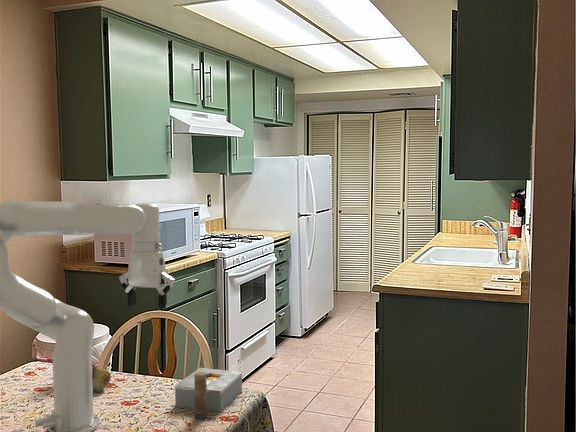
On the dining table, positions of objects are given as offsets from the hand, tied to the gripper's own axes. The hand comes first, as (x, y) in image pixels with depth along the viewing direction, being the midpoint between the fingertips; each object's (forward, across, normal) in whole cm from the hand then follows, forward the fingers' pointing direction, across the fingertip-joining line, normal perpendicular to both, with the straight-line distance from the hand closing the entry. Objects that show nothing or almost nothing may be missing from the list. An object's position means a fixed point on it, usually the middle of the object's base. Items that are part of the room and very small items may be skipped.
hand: (147, 306), depth 167 cm
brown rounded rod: (+28, -19, +4) cm, 34 cm away
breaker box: (+28, -15, -8) cm, 33 cm away
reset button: (+27, -15, -10) cm, 33 cm away
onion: (+29, +21, -5) cm, 36 cm away
